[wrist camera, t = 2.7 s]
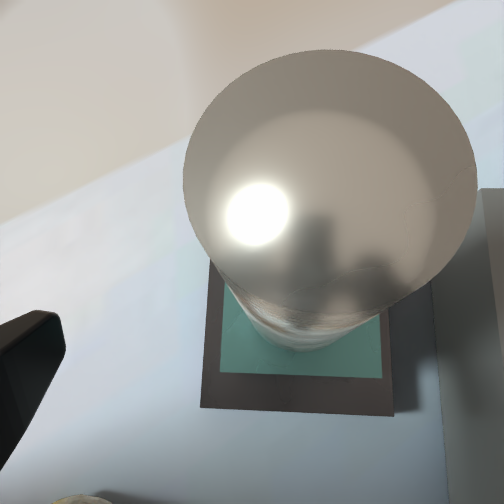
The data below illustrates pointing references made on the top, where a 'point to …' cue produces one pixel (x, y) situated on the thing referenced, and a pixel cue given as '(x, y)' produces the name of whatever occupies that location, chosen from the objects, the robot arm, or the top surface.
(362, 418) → the top surface
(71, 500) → the pastry
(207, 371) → the stud stand
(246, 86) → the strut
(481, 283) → the bin
